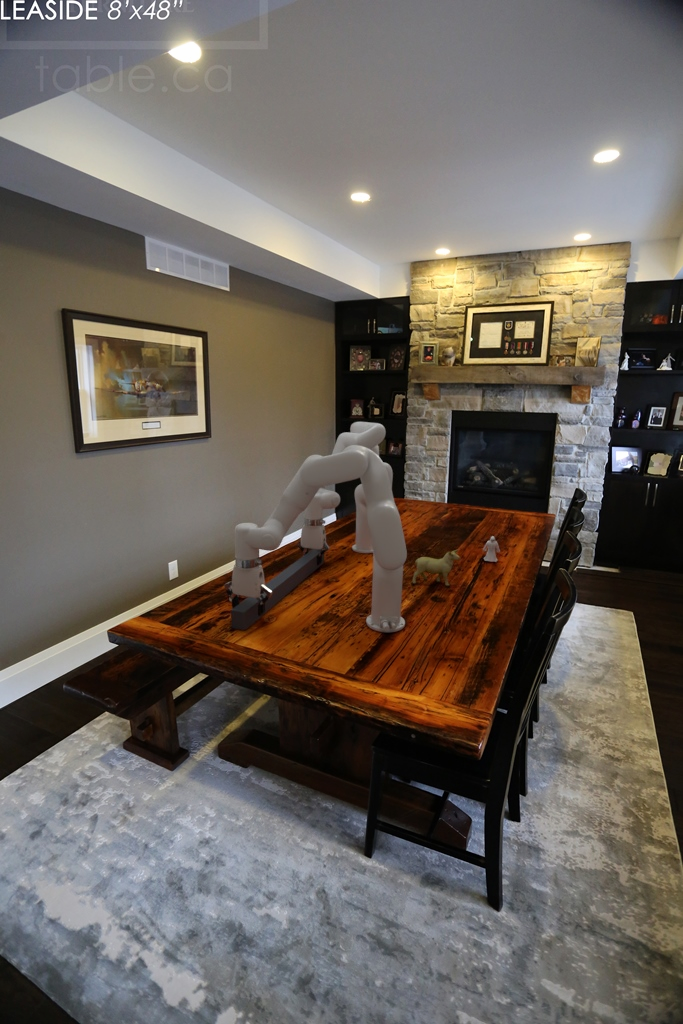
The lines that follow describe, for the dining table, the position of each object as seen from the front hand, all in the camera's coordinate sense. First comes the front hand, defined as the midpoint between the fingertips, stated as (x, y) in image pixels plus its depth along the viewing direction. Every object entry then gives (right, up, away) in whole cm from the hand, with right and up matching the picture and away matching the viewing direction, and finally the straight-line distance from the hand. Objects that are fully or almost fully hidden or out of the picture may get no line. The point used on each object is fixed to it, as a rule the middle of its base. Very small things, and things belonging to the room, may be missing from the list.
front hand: (248, 611), depth 163 cm
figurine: (+97, +11, +62) cm, 116 cm away
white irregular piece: (-8, +1, +16) cm, 18 cm away
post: (+9, +3, +25) cm, 27 cm away
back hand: (+18, +11, +50) cm, 54 cm away
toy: (+67, +4, +34) cm, 75 cm away
